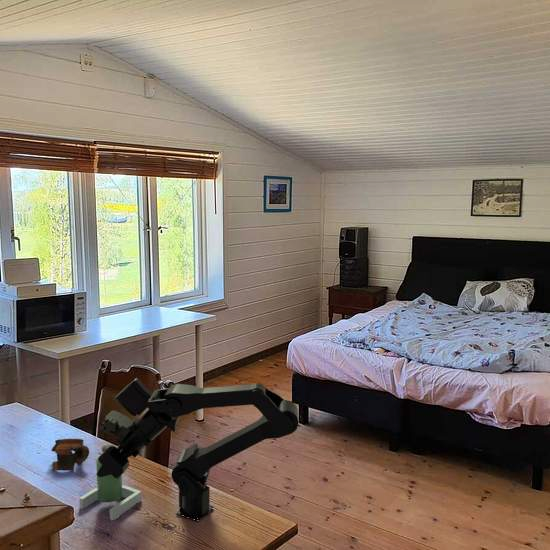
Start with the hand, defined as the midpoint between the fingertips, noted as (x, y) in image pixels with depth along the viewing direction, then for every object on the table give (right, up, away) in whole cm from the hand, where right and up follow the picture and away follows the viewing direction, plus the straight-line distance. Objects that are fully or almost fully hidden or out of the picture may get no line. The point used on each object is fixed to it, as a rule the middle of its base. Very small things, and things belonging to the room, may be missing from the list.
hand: (103, 469), depth 131 cm
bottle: (+1, -7, +1) cm, 7 cm away
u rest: (+1, -9, +1) cm, 9 cm away
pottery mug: (-15, -6, +21) cm, 26 cm away
